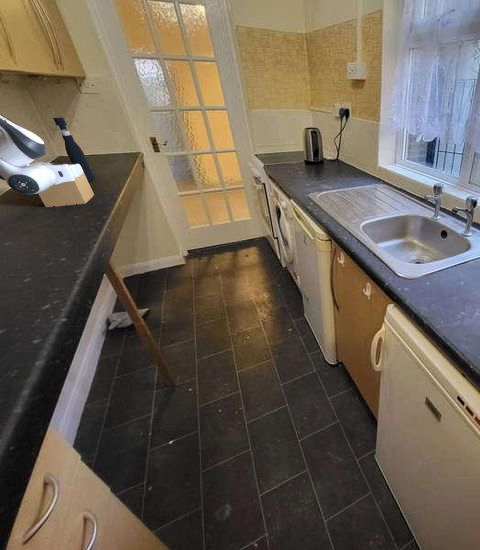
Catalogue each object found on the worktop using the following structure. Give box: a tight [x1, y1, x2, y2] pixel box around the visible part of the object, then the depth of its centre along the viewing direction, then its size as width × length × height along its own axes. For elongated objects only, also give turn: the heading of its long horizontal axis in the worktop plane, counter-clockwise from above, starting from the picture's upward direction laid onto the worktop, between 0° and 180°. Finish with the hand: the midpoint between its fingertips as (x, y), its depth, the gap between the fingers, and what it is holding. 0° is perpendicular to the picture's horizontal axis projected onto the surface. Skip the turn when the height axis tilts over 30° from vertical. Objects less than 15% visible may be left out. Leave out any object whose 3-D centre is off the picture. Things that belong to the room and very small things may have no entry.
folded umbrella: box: [53, 117, 97, 182], centre depth 151 cm, size 6×6×30 cm
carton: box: [37, 172, 95, 208], centre depth 127 cm, size 14×13×10 cm
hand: (55, 167), depth 123 cm, fingers closed
